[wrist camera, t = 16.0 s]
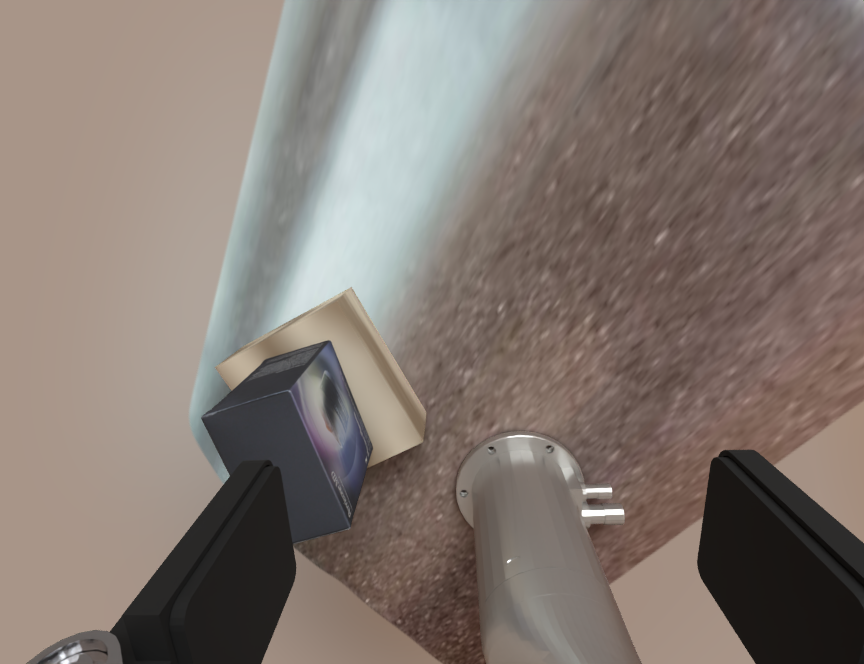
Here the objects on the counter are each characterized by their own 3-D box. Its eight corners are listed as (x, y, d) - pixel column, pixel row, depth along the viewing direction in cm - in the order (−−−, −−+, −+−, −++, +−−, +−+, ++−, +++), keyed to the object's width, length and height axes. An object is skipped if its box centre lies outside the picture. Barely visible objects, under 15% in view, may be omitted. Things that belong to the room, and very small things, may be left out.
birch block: (352, 286, 42) (336, 301, 37) (426, 410, 46) (423, 442, 40) (245, 344, 45) (215, 367, 39) (323, 459, 48) (306, 496, 42)
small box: (379, 447, 40) (355, 533, 30) (310, 466, 41) (264, 556, 31) (334, 336, 38) (291, 389, 28) (261, 359, 38) (193, 418, 28)
